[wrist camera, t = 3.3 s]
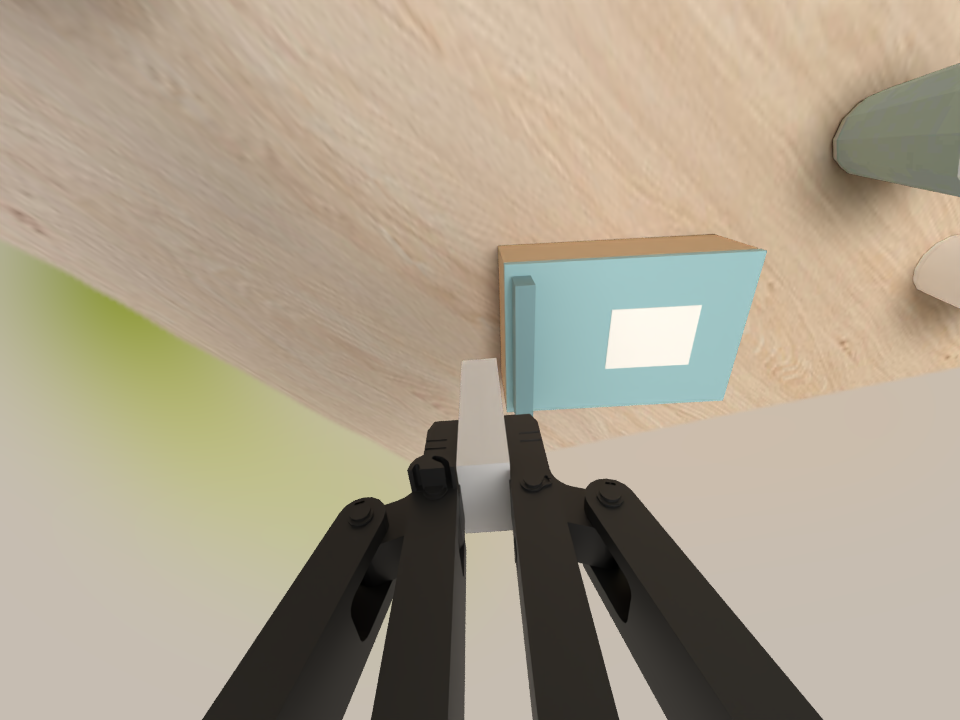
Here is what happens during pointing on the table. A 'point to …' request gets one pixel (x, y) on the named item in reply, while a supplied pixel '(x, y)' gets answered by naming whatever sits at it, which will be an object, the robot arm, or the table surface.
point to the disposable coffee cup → (906, 134)
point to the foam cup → (941, 271)
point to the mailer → (603, 250)
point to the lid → (625, 328)
